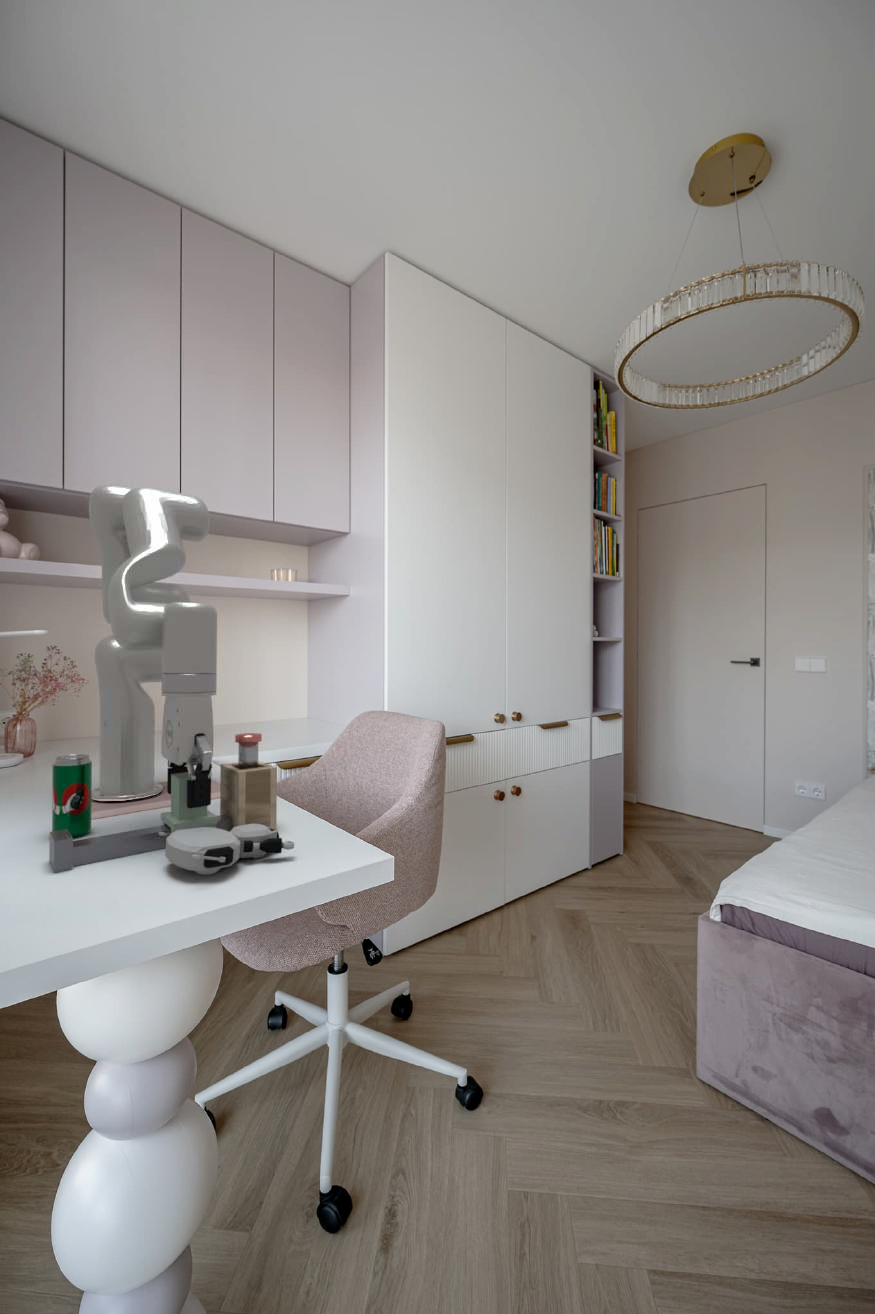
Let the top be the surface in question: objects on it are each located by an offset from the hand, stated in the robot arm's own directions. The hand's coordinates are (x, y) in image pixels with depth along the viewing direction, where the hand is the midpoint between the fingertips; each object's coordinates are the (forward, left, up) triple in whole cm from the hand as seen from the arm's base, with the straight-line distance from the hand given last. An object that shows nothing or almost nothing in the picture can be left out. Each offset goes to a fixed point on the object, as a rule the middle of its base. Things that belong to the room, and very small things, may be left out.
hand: (188, 799), depth 84 cm
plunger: (0, +9, +3) cm, 9 cm away
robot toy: (+13, +1, -7) cm, 14 cm away
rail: (0, -4, -6) cm, 7 cm away
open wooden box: (0, +9, -6) cm, 11 cm away
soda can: (-14, -13, -6) cm, 20 cm away
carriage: (0, 0, -6) cm, 6 cm away
